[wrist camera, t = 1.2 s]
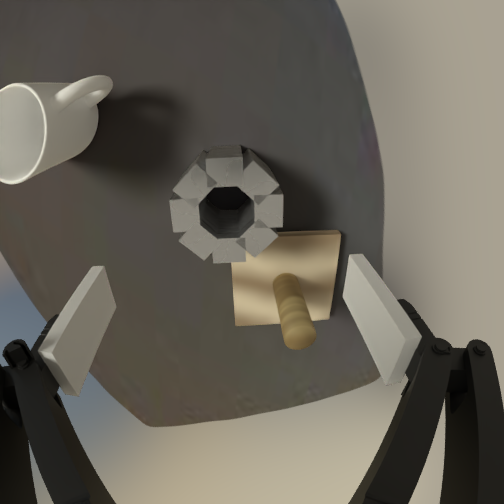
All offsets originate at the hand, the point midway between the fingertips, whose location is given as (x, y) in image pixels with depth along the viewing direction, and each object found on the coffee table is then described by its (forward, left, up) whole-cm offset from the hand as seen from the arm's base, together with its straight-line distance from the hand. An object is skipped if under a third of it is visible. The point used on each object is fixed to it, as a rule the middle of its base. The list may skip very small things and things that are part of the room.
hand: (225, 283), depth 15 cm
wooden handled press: (+11, +6, -17) cm, 21 cm away
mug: (-10, -15, -17) cm, 25 cm away
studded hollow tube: (0, 0, -17) cm, 17 cm away
